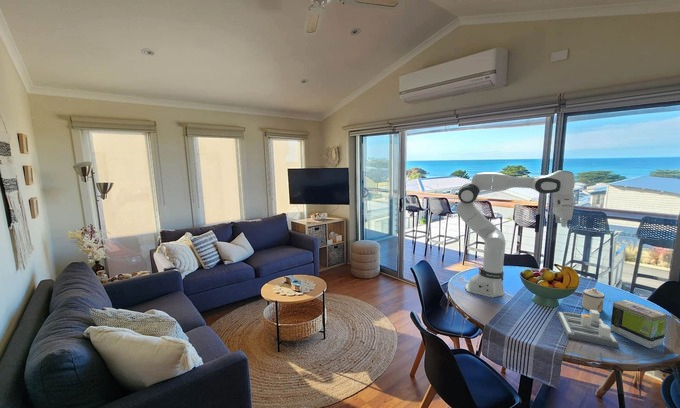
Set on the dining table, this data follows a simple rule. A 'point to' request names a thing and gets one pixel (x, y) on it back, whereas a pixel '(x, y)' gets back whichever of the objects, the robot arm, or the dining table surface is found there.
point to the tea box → (638, 323)
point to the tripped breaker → (585, 320)
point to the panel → (587, 328)
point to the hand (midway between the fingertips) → (560, 224)
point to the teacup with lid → (593, 299)
